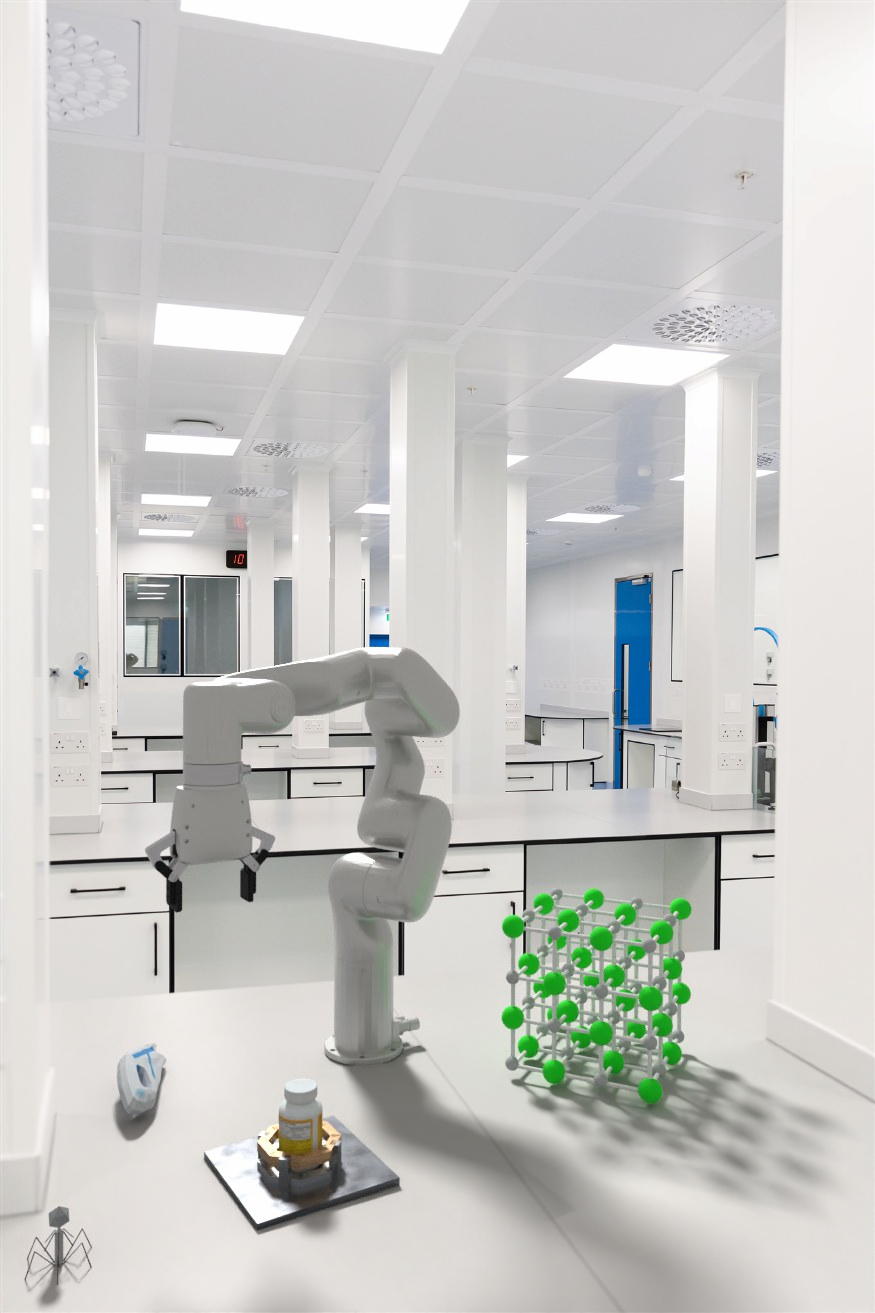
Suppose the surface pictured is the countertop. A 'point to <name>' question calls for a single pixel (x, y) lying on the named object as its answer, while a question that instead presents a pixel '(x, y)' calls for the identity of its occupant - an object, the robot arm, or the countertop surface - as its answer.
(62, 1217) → the bacteriophage
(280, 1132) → the supplement bottle
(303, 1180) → the collar base
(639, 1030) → the molecular structure model
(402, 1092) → the countertop surface
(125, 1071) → the spaceship
